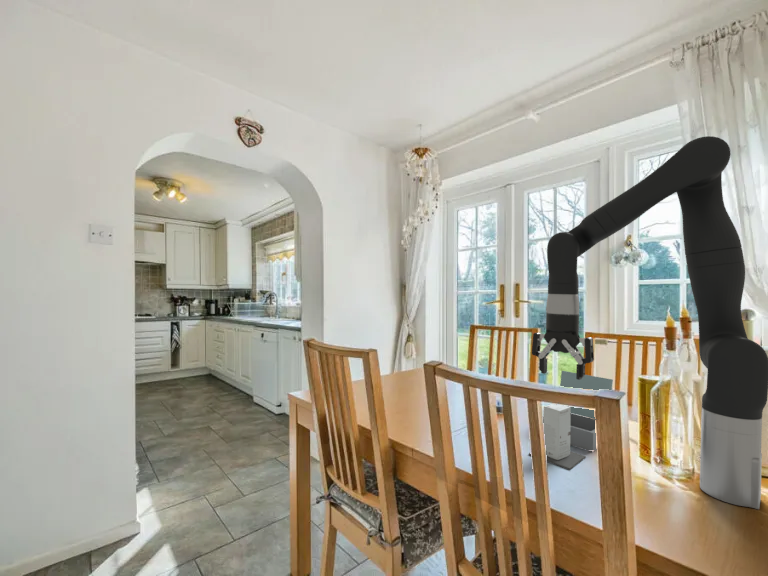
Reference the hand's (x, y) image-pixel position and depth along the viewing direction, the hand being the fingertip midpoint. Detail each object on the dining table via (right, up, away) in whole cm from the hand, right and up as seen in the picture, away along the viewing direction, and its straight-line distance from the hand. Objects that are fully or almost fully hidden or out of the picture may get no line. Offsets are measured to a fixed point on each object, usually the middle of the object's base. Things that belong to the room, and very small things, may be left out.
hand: (561, 376), depth 94 cm
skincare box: (-1, -20, -1) cm, 20 cm away
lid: (+15, -10, +16) cm, 24 cm away
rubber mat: (-1, -20, -1) cm, 20 cm away
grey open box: (+9, -20, +12) cm, 25 cm away
